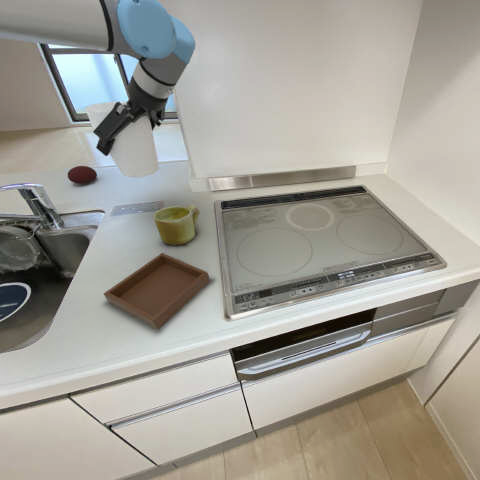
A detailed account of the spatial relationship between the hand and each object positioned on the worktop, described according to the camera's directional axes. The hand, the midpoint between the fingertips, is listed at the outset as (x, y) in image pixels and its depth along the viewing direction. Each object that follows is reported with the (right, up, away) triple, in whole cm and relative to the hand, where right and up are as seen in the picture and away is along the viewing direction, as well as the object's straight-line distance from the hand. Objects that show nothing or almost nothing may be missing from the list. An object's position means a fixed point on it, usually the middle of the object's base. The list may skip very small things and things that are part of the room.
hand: (123, 143), depth 71 cm
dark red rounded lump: (-33, -5, +25) cm, 42 cm away
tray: (+18, -39, -12) cm, 44 cm away
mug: (+15, -25, +5) cm, 29 cm away
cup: (+2, -7, +5) cm, 8 cm away
